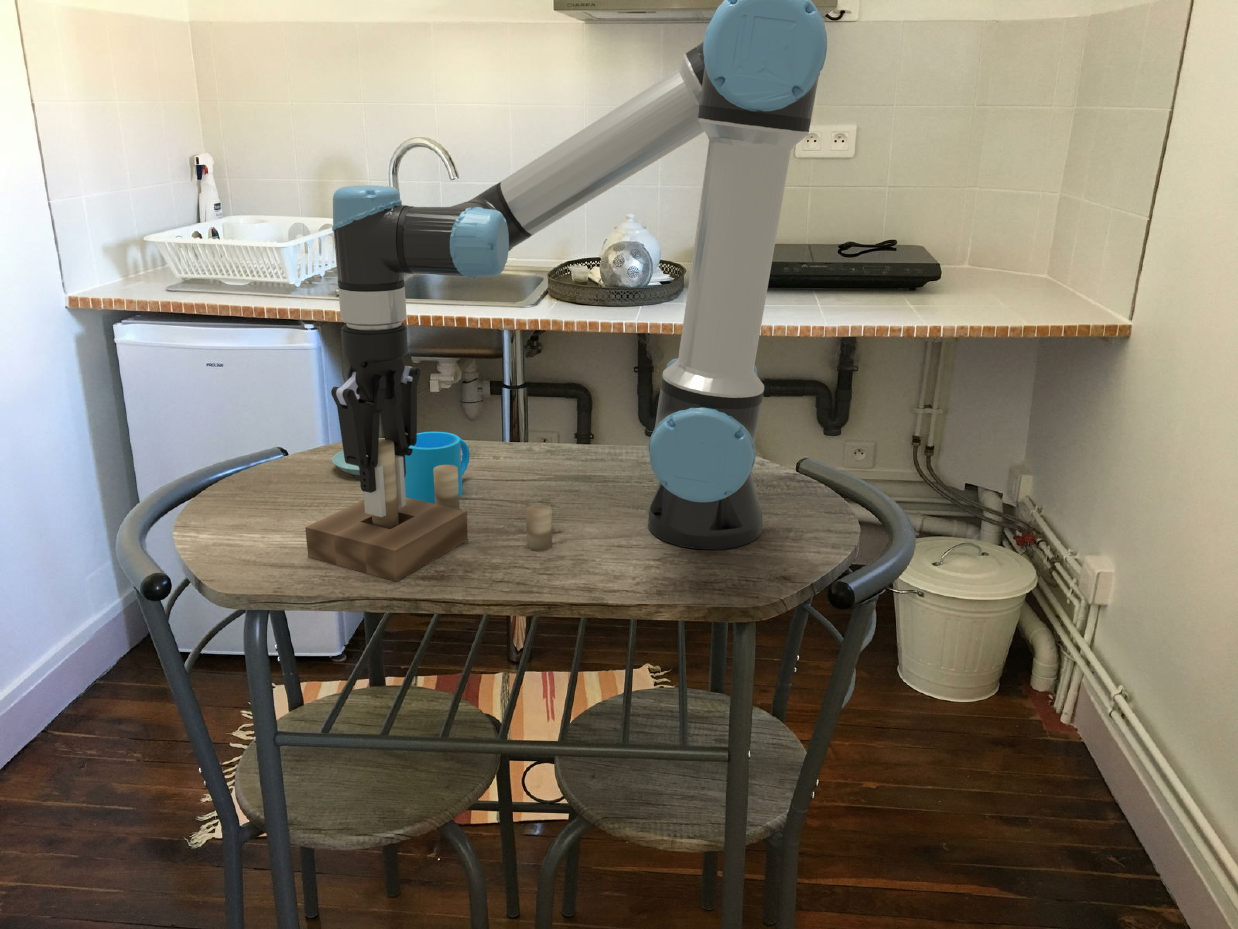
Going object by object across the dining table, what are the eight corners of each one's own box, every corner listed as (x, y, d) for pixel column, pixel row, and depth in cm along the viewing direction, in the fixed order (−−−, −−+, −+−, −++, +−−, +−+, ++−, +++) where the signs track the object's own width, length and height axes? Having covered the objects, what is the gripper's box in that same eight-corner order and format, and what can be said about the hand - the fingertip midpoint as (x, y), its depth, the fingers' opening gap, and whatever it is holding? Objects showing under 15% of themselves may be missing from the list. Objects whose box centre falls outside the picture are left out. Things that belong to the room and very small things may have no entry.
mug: (436, 508, 141) (433, 453, 138) (393, 497, 145) (389, 442, 142) (490, 483, 150) (488, 431, 148) (448, 473, 154) (445, 422, 152)
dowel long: (405, 546, 128) (399, 441, 124) (388, 555, 126) (381, 449, 121) (386, 541, 130) (379, 437, 125) (369, 550, 127) (361, 444, 122)
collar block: (467, 539, 130) (466, 511, 129) (396, 581, 119) (394, 550, 117) (383, 519, 137) (381, 491, 135) (308, 557, 125) (305, 527, 124)
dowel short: (556, 544, 130) (556, 508, 128) (543, 553, 127) (542, 516, 125) (535, 539, 131) (535, 503, 129) (522, 548, 128) (521, 511, 127)
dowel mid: (464, 515, 138) (462, 467, 136) (450, 523, 136) (447, 474, 133) (445, 510, 140) (443, 463, 137) (431, 518, 137) (428, 470, 135)
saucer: (355, 489, 148) (354, 474, 147) (319, 467, 156) (318, 453, 156) (425, 472, 155) (425, 458, 154) (388, 452, 164) (387, 438, 163)
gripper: (393, 308, 126) (403, 484, 134) (299, 331, 113) (316, 524, 121) (442, 315, 123) (449, 494, 131) (350, 339, 110) (364, 537, 118)
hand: (385, 508), depth 126 cm, fingers closed on dowel long, 3 cm apart
